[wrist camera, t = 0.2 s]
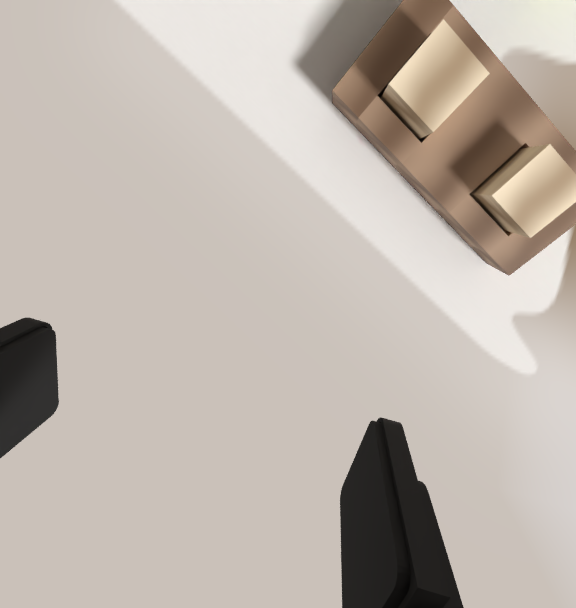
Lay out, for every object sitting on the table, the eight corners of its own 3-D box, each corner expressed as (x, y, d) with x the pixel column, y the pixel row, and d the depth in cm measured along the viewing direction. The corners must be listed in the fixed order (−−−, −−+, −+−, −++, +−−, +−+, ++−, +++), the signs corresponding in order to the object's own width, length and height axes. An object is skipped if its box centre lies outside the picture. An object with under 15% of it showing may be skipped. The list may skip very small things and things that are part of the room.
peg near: (380, 98, 29) (388, 83, 24) (425, 45, 27) (443, 19, 23) (418, 139, 30) (433, 132, 25) (464, 90, 28) (489, 73, 23)
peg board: (332, 103, 33) (332, 90, 28) (410, 5, 29) (425, -28, 24) (486, 263, 36) (509, 275, 31) (573, 193, 33) (612, 195, 28)
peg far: (468, 193, 31) (491, 195, 26) (516, 149, 29) (550, 143, 24) (502, 229, 31) (530, 238, 27) (551, 189, 30) (589, 190, 25)
